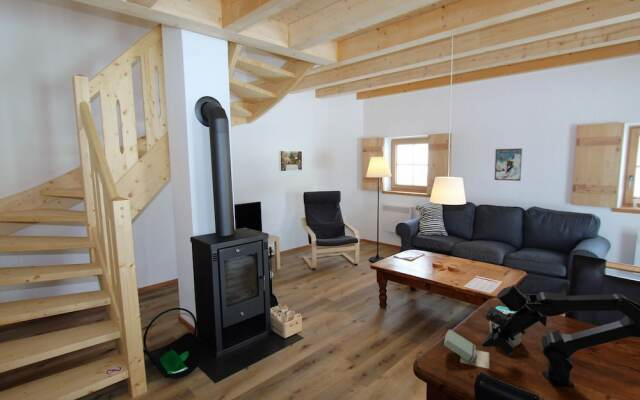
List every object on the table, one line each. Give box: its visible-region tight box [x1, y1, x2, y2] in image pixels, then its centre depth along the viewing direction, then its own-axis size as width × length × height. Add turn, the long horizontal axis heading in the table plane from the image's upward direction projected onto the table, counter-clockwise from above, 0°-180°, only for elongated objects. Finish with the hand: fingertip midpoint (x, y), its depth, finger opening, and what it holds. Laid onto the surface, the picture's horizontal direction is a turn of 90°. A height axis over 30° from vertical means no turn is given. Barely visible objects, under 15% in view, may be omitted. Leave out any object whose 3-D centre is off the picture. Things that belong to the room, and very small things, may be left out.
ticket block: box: [459, 349, 490, 370], centre depth 121 cm, size 9×10×2 cm
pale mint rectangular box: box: [443, 328, 476, 363], centre depth 123 cm, size 3×8×10 cm
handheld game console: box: [495, 305, 516, 314], centre depth 153 cm, size 10×16×1 cm, turn 139°
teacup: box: [488, 321, 522, 348], centre depth 132 cm, size 14×11×8 cm
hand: (483, 345), depth 119 cm, fingers closed
